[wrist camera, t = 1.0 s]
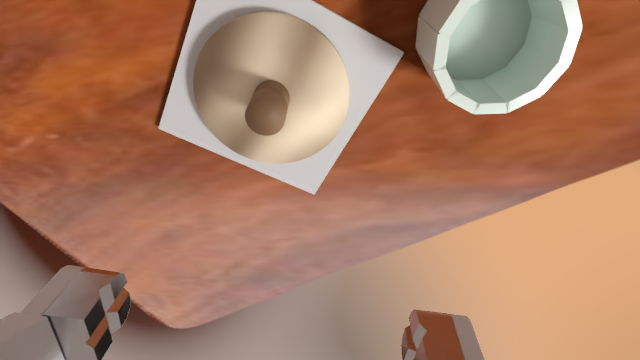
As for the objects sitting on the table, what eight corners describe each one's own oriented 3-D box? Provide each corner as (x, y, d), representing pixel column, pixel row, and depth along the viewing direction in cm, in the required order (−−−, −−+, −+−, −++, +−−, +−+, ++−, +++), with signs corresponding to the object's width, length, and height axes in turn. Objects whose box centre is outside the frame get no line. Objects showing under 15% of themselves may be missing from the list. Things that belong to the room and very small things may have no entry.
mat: (160, 126, 34) (158, 128, 34) (214, -56, 26) (212, -56, 25) (314, 191, 38) (314, 194, 37) (403, 51, 30) (404, 53, 29)
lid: (178, 122, 33) (157, 149, 29) (226, -23, 27) (207, -15, 22) (307, 178, 36) (305, 209, 32) (378, 60, 30) (386, 81, 26)
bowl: (394, 54, 30) (408, 78, 25) (467, -64, 25) (501, -63, 20) (480, 102, 32) (508, 133, 27) (561, 2, 28) (612, 18, 23)
